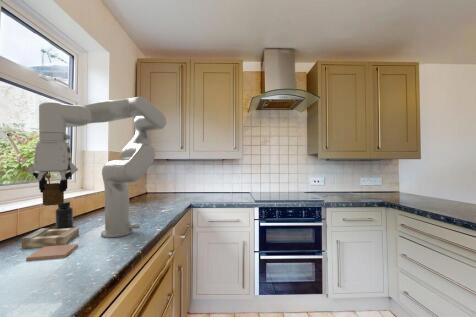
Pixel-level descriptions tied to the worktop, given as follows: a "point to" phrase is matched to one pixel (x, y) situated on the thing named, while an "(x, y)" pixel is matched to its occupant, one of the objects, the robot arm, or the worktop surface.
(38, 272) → the worktop surface
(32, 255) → the terracotta tile
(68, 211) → the supplement bottle
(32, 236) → the wooden tray
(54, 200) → the utensil holder
